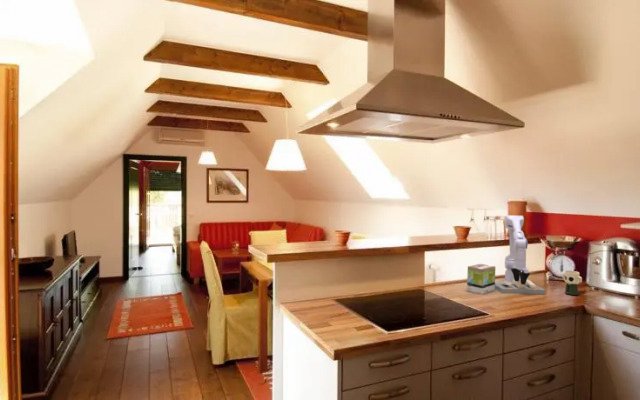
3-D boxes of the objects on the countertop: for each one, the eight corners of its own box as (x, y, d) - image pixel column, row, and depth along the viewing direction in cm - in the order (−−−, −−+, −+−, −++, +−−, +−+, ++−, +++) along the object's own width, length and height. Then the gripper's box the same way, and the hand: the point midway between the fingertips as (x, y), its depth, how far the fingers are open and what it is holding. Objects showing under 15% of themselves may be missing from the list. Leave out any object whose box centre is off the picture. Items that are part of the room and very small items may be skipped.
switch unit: (491, 286, 218) (492, 281, 217) (532, 287, 216) (532, 282, 216) (502, 293, 204) (502, 287, 203) (545, 294, 202) (545, 288, 202)
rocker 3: (524, 281, 213) (524, 279, 213) (528, 281, 213) (529, 279, 213) (531, 287, 205) (531, 285, 205) (536, 288, 205) (536, 285, 205)
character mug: (557, 292, 206) (558, 270, 206) (566, 291, 208) (567, 269, 208) (576, 297, 196) (577, 274, 195) (585, 296, 198) (586, 273, 198)
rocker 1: (500, 284, 214) (500, 281, 214) (505, 284, 214) (504, 281, 214) (506, 284, 206) (506, 282, 207) (511, 284, 206) (511, 282, 206)
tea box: (483, 294, 201) (483, 269, 200) (466, 291, 208) (466, 266, 208) (495, 290, 210) (495, 265, 210) (478, 286, 218) (479, 262, 217)
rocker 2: (512, 281, 214) (512, 279, 213) (516, 281, 213) (517, 279, 213) (518, 287, 206) (518, 285, 206) (523, 287, 206) (523, 285, 205)
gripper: (507, 257, 214) (507, 279, 215) (519, 261, 200) (519, 285, 200) (519, 257, 214) (519, 279, 214) (532, 262, 199) (531, 285, 200)
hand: (519, 282), depth 207 cm, fingers open, 7 cm apart
